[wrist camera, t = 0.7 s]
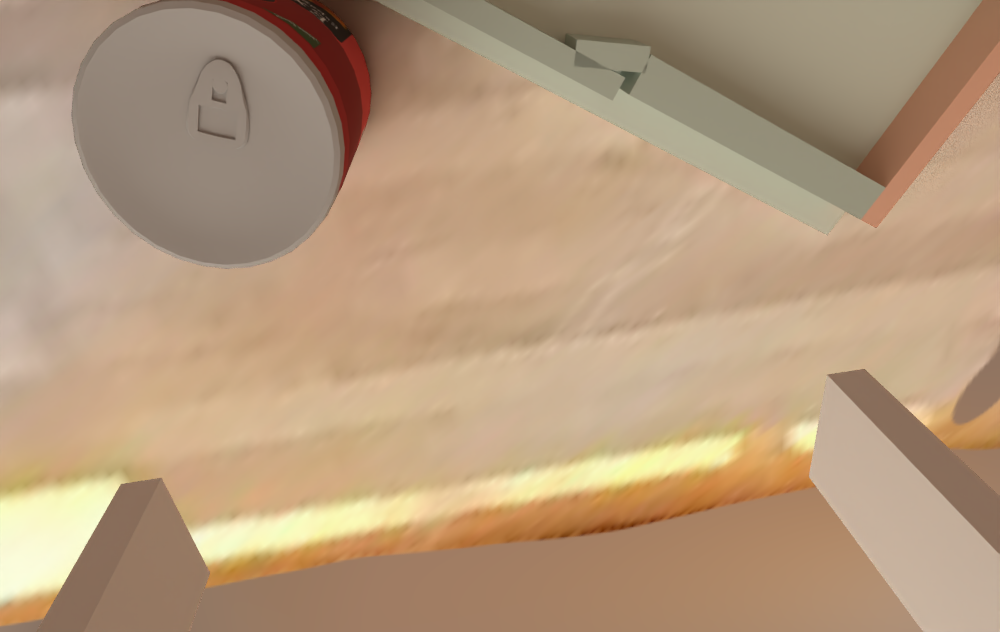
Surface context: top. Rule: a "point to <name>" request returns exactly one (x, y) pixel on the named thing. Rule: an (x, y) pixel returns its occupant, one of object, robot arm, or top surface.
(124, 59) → the canned food
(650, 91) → the grey miter box
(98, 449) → the top surface
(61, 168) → the top surface
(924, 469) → the robot arm
